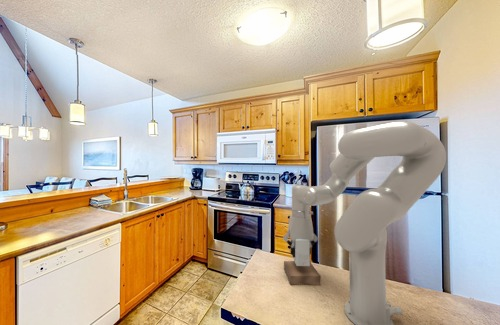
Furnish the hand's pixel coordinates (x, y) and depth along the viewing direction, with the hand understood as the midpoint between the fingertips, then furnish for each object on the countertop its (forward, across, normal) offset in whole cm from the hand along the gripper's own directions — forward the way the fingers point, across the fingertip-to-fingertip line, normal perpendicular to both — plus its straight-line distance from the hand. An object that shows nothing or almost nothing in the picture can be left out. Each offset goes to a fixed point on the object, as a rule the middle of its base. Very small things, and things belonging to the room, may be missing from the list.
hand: (300, 255), depth 78 cm
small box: (+3, 0, 0) cm, 3 cm away
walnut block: (+9, 0, 0) cm, 9 cm away
